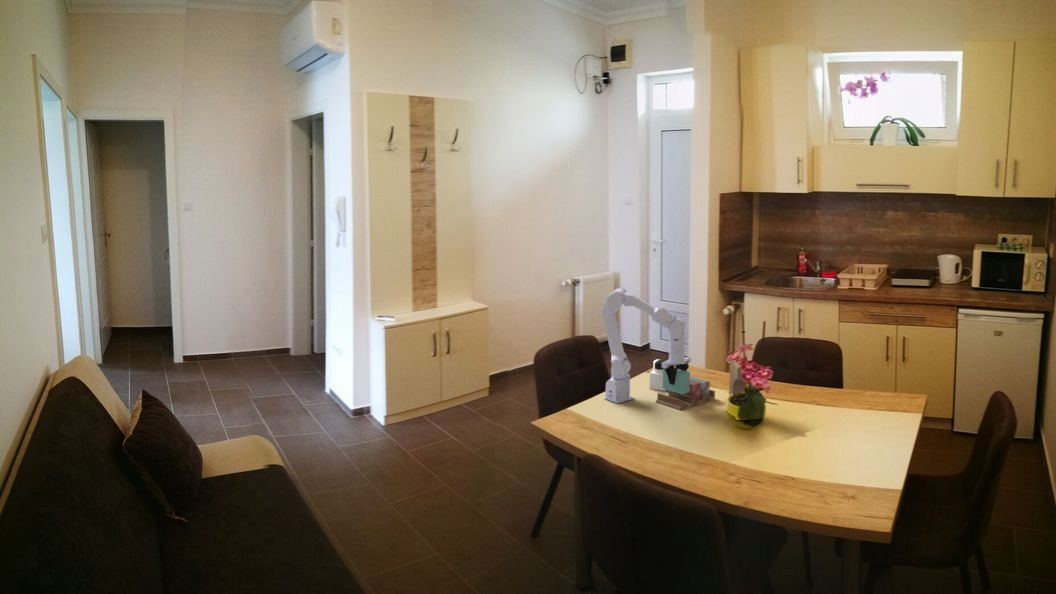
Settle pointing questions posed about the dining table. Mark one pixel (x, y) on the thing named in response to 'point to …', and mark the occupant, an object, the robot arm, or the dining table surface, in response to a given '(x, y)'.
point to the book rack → (688, 395)
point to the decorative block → (736, 379)
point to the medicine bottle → (657, 376)
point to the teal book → (677, 382)
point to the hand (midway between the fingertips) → (675, 383)
